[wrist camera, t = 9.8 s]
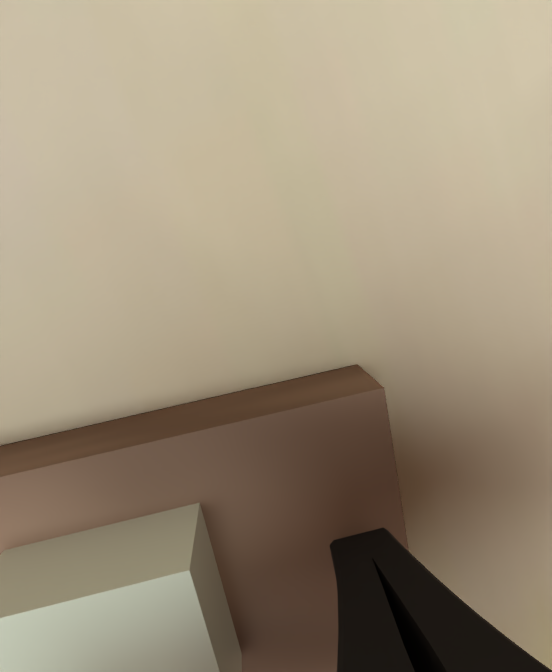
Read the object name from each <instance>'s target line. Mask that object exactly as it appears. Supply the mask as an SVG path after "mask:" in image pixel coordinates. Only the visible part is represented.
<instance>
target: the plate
mask: <svg viewBox="0 0 552 672" xmlns="http://www.w3.org/2000/svg"><path fill="white" fill-rule="evenodd" d="M196 503H200V506H201V509H202V513H203V517H204V520H205V524H206V527H207V531H208V535H209V538H210V542H211V545H212V549H213V553H214V556H215V560H216V563H217V567H218V571H219V574H220V578H221V581H222V585H223V589H224V592H225V596H226V599H227V603H228V606H229V610H230V614H231V617H232V621H233V624H234V628H235V632H236V635H237V639H238V642H239V646H240V650H241V653H242V672H337V657H338V593H337V581H336V576H335V571H334V566H333V561H332V556H331V551H330V544H331V543H332V541H333V540H336V539H340V538H344V537H348V536H352V535H356V534H360V533H364V532H368V531H372V530H375V529H379V528H385V529H387V530H388V531H389V532H390V533H391V534H392V535H393V536H394V537H395V538H396V539H397V540H398V541H399V542H400V543H401V544H402V545H403V546H404V547H405V548H406V549H407V550H408V544H407V537H406V531H405V524H404V517H403V511H402V504H401V497H400V491H399V484H398V477H397V471H396V464H395V457H394V451H393V444H392V437H391V431H390V424H389V418H388V411H387V404H386V398H385V391H384V387H383V386H381V385H380V384H379V383H378V382H377V381H376V380H375V379H373V378H372V377H371V376H370V375H369V374H368V373H366V372H365V371H364V370H363V369H362V368H361V367H360V366H358V365H354V366H349V367H345V368H340V369H336V370H332V371H327V372H323V373H319V374H314V375H310V376H305V377H301V378H297V379H292V380H288V381H283V382H279V383H275V384H270V385H266V386H262V387H257V388H253V389H248V390H244V391H240V392H235V393H231V394H227V395H222V396H218V397H213V398H209V399H205V400H200V401H196V402H191V403H187V404H183V405H178V406H174V407H170V408H165V409H161V410H156V411H152V412H148V413H143V414H139V415H134V416H130V417H126V418H121V419H117V420H113V421H108V422H104V423H99V424H95V425H91V426H86V427H82V428H78V429H73V430H69V431H64V432H60V433H56V434H51V435H47V436H42V437H38V438H34V439H29V440H25V441H21V442H16V443H12V444H7V445H3V446H0V555H1V553H2V552H3V551H4V550H7V549H11V548H16V547H20V546H24V545H28V544H32V543H36V542H40V541H44V540H48V539H53V538H57V537H61V536H65V535H69V534H73V533H77V532H81V531H85V530H89V529H94V528H98V527H102V526H106V525H110V524H114V523H118V522H122V521H126V520H130V519H135V518H139V517H143V516H147V515H151V514H155V513H159V512H163V511H167V510H171V509H176V508H180V507H184V506H188V505H192V504H196Z"/></svg>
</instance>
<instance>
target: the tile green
mask: <svg viewBox="0 0 552 672" xmlns="http://www.w3.org/2000/svg"><path fill="white" fill-rule="evenodd" d="M0 672H242V653H241V650H240V646H239V642H238V639H237V635H236V632H235V628H234V624H233V621H232V617H231V614H230V610H229V606H228V603H227V599H226V596H225V592H224V589H223V585H222V581H221V578H220V574H219V571H218V567H217V563H216V560H215V556H214V553H213V549H212V545H211V542H210V538H209V535H208V531H207V527H206V524H205V520H204V517H203V513H202V509H201V506H200V503H196V504H192V505H188V506H184V507H180V508H176V509H171V510H167V511H163V512H159V513H155V514H151V515H147V516H143V517H139V518H135V519H130V520H126V521H122V522H118V523H114V524H110V525H106V526H102V527H98V528H94V529H89V530H85V531H81V532H77V533H73V534H69V535H65V536H61V537H57V538H53V539H48V540H44V541H40V542H36V543H32V544H28V545H24V546H20V547H16V548H11V549H7V550H4V551H3V552H2V553H1V555H0Z"/></svg>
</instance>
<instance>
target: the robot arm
mask: <svg viewBox="0 0 552 672" xmlns="http://www.w3.org/2000/svg"><path fill="white" fill-rule="evenodd" d="M330 551H331V556H332V561H333V566H334V571H335V576H336V581H337V593H338V657H337V672H552V670H550V669H549V668H547V667H546V666H545V665H543V664H542V663H540V662H539V661H538V660H536V659H535V658H534V657H532V656H531V655H530V654H528V653H527V652H526V651H524V650H523V649H522V648H520V647H519V646H518V645H516V644H515V643H514V642H512V641H511V640H510V639H508V638H507V637H506V636H505V635H503V634H502V633H501V632H500V631H498V630H497V629H496V628H495V627H493V626H492V625H491V624H490V623H488V622H487V621H486V620H485V619H483V618H482V617H481V616H480V615H479V614H477V613H476V612H475V611H474V610H473V609H471V608H470V607H469V606H468V605H467V604H465V603H464V602H463V601H462V600H461V599H460V598H459V597H457V596H456V595H455V594H454V593H453V592H452V591H451V590H449V589H448V588H447V587H446V586H445V585H444V584H443V583H441V582H440V581H439V580H438V579H437V578H436V577H435V576H434V575H433V574H432V573H430V572H429V571H428V570H427V569H426V568H425V567H424V566H423V565H422V564H421V563H420V562H419V561H418V560H417V559H416V558H415V557H414V556H413V555H412V554H411V553H410V552H409V551H408V550H407V549H406V548H405V547H404V546H403V545H402V544H401V543H400V542H399V541H398V540H397V539H396V538H395V537H394V536H393V535H392V534H391V533H390V532H389V531H388V530H387V529H385V528H379V529H375V530H372V531H368V532H364V533H360V534H356V535H352V536H348V537H344V538H340V539H336V540H333V541H332V543H331V544H330Z"/></svg>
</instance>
